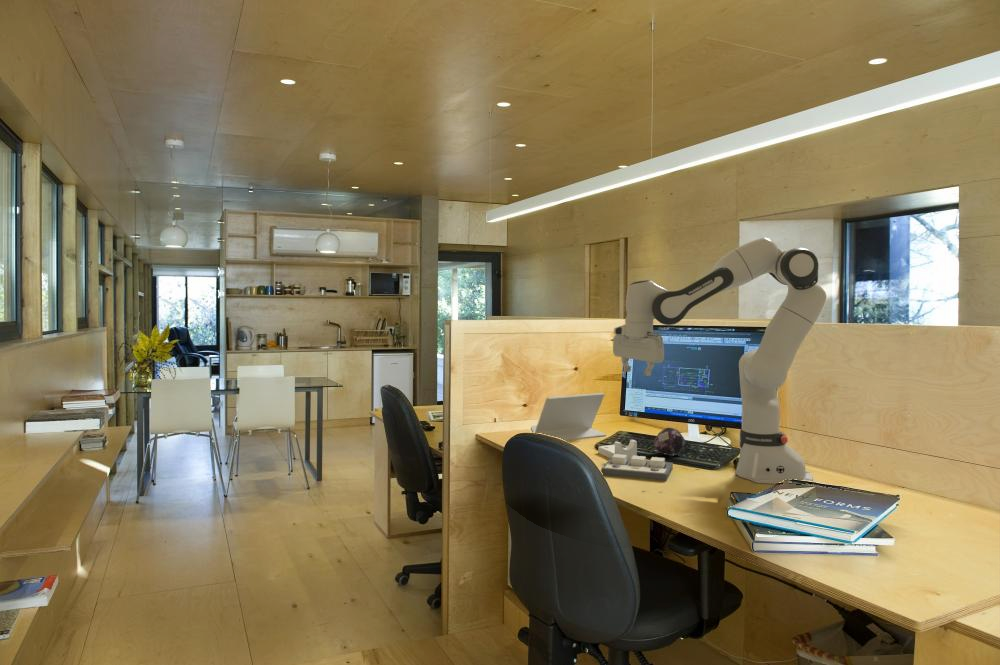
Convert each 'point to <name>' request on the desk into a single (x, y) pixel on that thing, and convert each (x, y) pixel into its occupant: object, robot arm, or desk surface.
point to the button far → (619, 459)
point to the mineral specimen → (669, 441)
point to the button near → (657, 462)
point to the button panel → (637, 470)
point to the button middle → (638, 461)
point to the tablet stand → (570, 417)
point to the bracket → (619, 449)
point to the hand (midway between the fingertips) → (637, 373)
